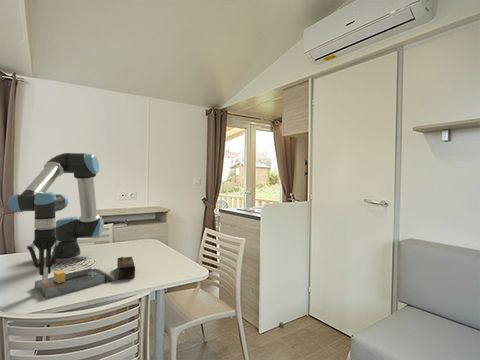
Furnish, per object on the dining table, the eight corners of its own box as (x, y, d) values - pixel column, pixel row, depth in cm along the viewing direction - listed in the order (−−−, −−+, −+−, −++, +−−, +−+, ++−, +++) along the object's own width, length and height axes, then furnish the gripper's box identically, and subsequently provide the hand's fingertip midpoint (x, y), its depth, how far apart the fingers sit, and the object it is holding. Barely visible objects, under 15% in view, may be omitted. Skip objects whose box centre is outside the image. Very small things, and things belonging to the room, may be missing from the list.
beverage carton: (132, 266, 158) (132, 255, 158) (135, 278, 141) (135, 265, 140) (117, 268, 155) (117, 256, 154) (118, 281, 137) (118, 267, 137)
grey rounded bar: (92, 273, 145) (92, 269, 145) (100, 271, 148) (100, 267, 148) (107, 282, 134) (107, 277, 134) (115, 280, 137) (115, 275, 137)
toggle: (53, 280, 127) (53, 271, 127) (61, 278, 130) (61, 269, 130) (57, 283, 124) (57, 274, 124) (65, 281, 126) (65, 272, 126)
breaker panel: (34, 287, 127) (34, 281, 126) (90, 274, 145) (90, 267, 145) (45, 299, 116) (45, 291, 116) (104, 282, 134) (104, 276, 134)
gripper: (29, 231, 115) (29, 288, 115) (65, 227, 124) (64, 279, 125) (24, 228, 119) (24, 283, 120) (59, 224, 129) (59, 275, 130)
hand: (44, 281), depth 123 cm, fingers closed
